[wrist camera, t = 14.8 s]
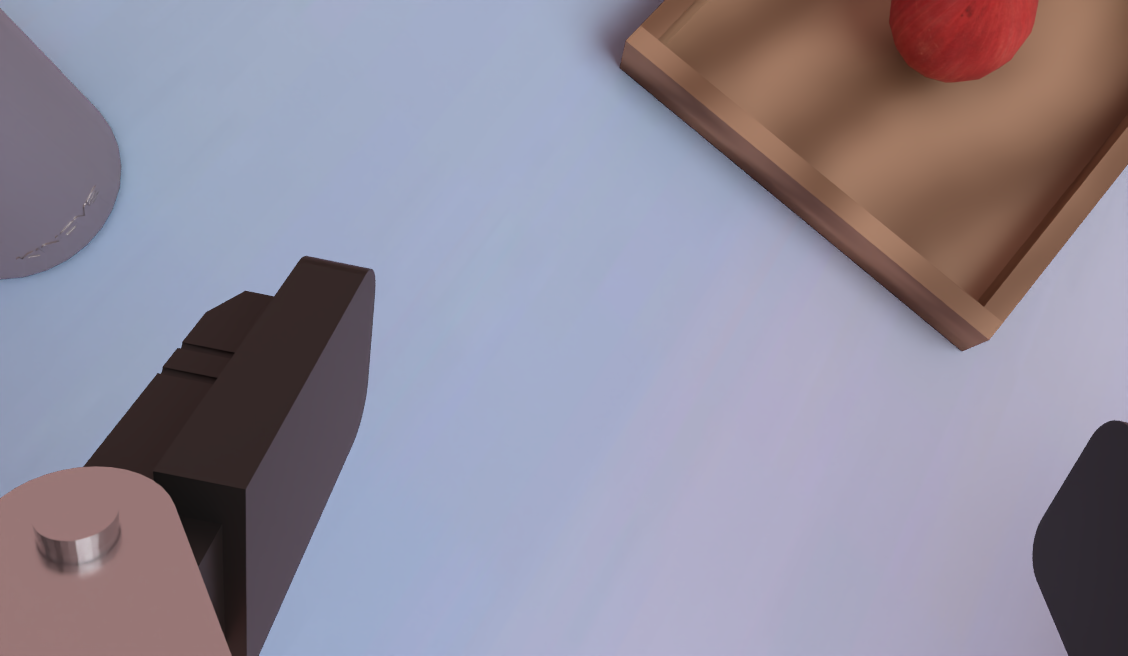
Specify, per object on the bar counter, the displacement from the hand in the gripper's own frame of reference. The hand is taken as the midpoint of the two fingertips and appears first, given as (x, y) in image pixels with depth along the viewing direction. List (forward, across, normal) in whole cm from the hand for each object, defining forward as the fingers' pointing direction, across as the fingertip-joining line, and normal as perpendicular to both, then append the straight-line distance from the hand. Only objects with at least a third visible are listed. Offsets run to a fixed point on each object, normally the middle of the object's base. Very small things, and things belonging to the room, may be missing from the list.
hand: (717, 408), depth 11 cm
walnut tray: (+38, -12, +5) cm, 40 cm away
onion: (+38, -12, +5) cm, 40 cm away
